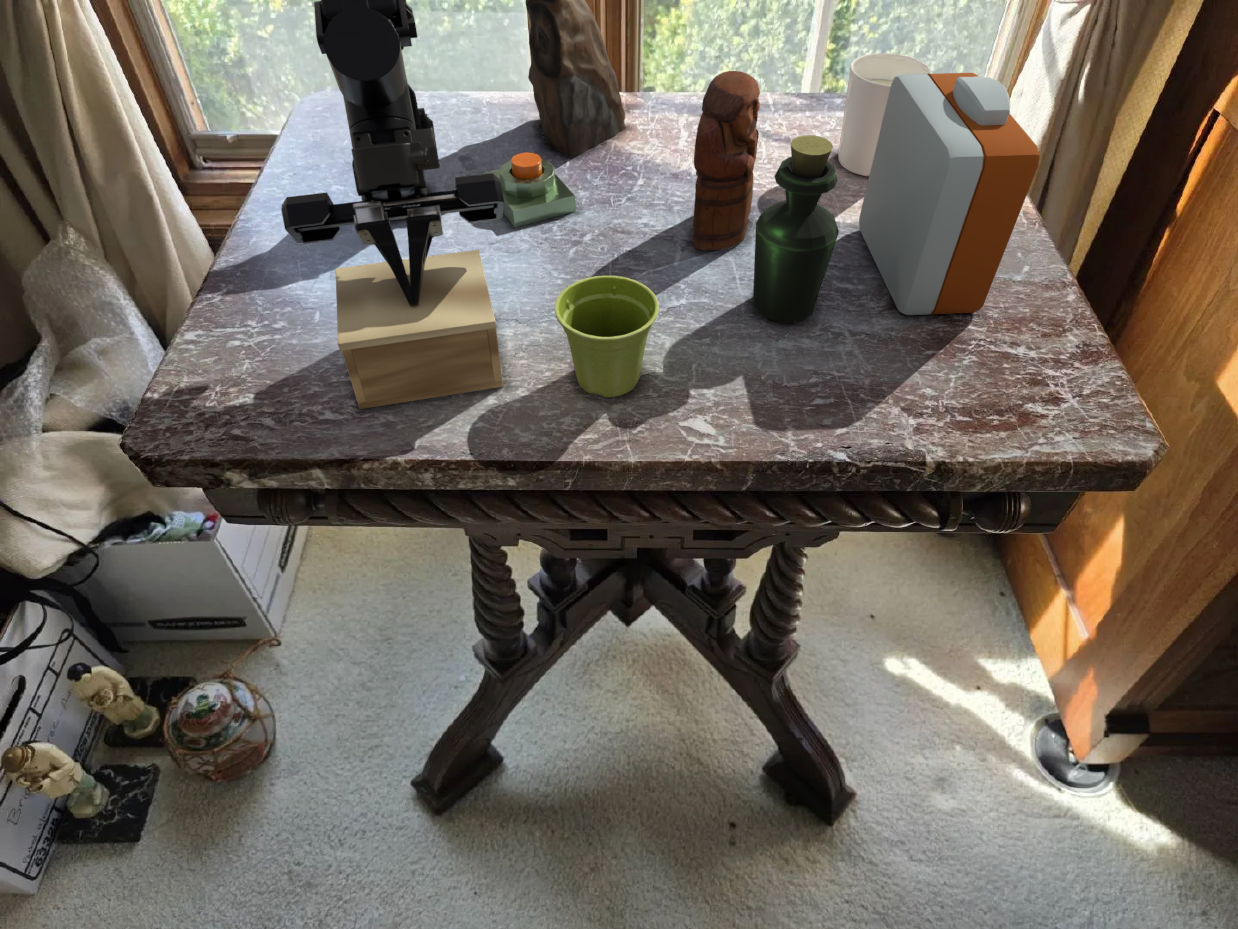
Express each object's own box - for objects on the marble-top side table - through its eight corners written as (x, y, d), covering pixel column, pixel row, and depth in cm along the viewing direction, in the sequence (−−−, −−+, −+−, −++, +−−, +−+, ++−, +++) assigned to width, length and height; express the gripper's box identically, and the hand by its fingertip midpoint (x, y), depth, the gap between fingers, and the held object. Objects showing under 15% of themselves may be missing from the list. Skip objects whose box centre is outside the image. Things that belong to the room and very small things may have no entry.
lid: (496, 328, 75) (495, 321, 75) (339, 351, 73) (337, 343, 73) (479, 256, 83) (478, 249, 82) (337, 275, 81) (335, 268, 80)
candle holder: (917, 156, 113) (943, 63, 104) (891, 187, 107) (916, 93, 99) (848, 137, 117) (867, 46, 108) (820, 167, 111) (837, 73, 102)
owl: (570, 163, 111) (564, -1, 97) (501, 135, 117) (485, -25, 102) (630, 128, 118) (632, -30, 103) (562, 103, 123) (554, -52, 109)
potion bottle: (805, 278, 94) (836, 120, 81) (833, 323, 89) (871, 161, 75) (735, 288, 93) (755, 128, 80) (759, 333, 87) (784, 171, 74)
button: (507, 169, 103) (506, 156, 102) (535, 163, 104) (534, 149, 103) (519, 183, 101) (517, 169, 100) (546, 176, 102) (546, 162, 101)
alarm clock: (981, 318, 89) (1056, 129, 74) (900, 321, 89) (958, 132, 74) (926, 223, 102) (981, 45, 87) (854, 225, 101) (897, 47, 86)
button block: (484, 189, 107) (481, 159, 104) (543, 174, 109) (541, 145, 106) (514, 227, 101) (511, 197, 98) (575, 211, 103) (574, 181, 100)
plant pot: (585, 423, 78) (582, 350, 72) (543, 364, 84) (538, 291, 78) (673, 391, 81) (678, 319, 75) (627, 336, 87) (628, 264, 81)
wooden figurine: (738, 259, 97) (757, 102, 83) (683, 250, 98) (694, 94, 85) (756, 206, 104) (776, 55, 91) (705, 199, 105) (718, 48, 92)
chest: (503, 386, 82) (495, 322, 76) (359, 409, 80) (339, 344, 74) (488, 320, 89) (479, 256, 83) (355, 339, 87) (337, 275, 81)
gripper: (249, 104, 66) (286, 304, 66) (489, 80, 69) (522, 272, 69) (281, 153, 77) (313, 324, 77) (487, 131, 80) (515, 296, 80)
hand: (414, 304), depth 76 cm, fingers closed, pressing on lid
